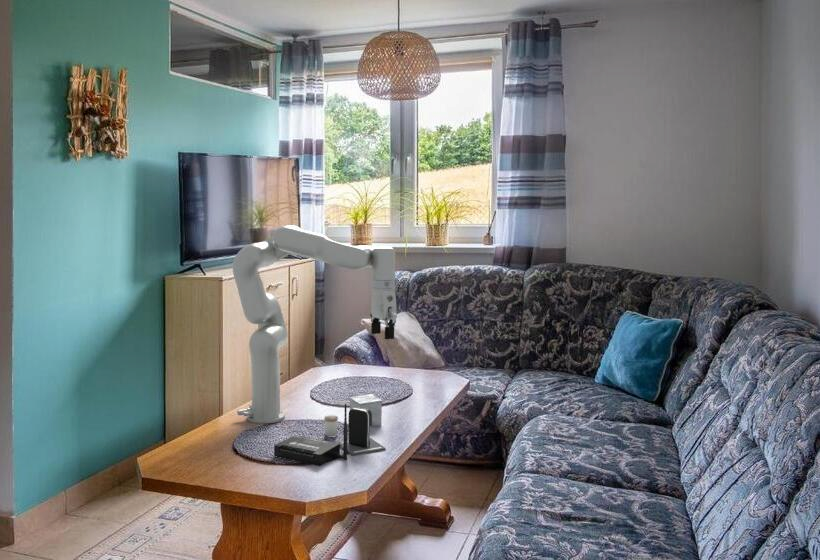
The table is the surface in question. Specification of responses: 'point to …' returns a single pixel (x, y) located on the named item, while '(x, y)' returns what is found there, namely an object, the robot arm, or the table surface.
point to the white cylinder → (331, 425)
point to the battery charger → (359, 426)
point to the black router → (311, 448)
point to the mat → (363, 448)
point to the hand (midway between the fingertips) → (382, 336)
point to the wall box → (369, 406)
